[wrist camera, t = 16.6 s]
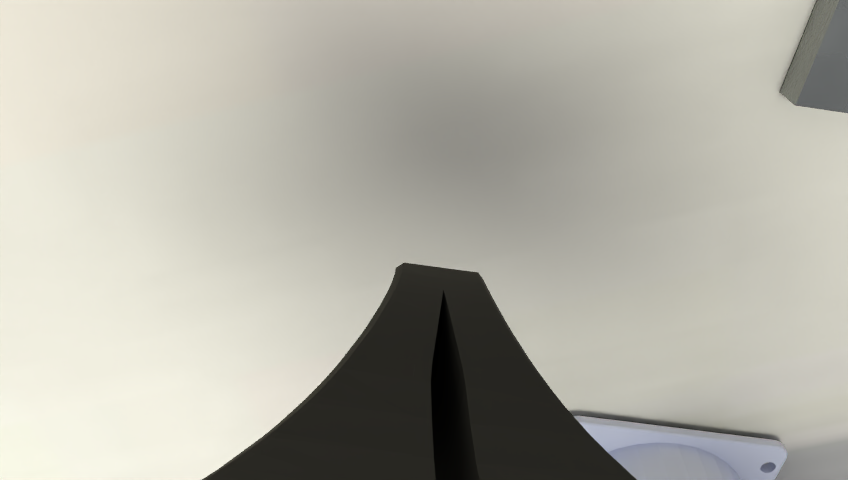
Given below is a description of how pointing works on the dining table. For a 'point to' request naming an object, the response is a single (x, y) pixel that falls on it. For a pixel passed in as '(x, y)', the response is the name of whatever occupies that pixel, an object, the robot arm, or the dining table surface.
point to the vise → (821, 60)
